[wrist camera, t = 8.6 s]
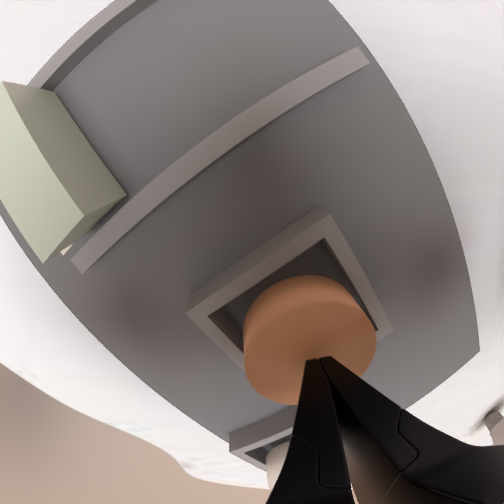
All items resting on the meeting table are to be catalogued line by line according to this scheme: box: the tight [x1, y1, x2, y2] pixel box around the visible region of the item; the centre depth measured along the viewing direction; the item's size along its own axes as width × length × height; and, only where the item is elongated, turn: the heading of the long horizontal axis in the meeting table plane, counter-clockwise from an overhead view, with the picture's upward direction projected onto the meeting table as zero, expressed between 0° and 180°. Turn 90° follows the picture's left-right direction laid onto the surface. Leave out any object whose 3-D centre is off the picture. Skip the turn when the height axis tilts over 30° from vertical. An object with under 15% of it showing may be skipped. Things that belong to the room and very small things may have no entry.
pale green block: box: [0, 81, 127, 264], centre depth 8 cm, size 2×6×4 cm, turn 35°
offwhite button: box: [266, 441, 290, 490], centre depth 13 cm, size 5×5×2 cm
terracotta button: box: [243, 275, 377, 405], centre depth 10 cm, size 5×5×2 cm
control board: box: [0, 0, 480, 472], centre depth 12 cm, size 18×28×4 cm, turn 36°
